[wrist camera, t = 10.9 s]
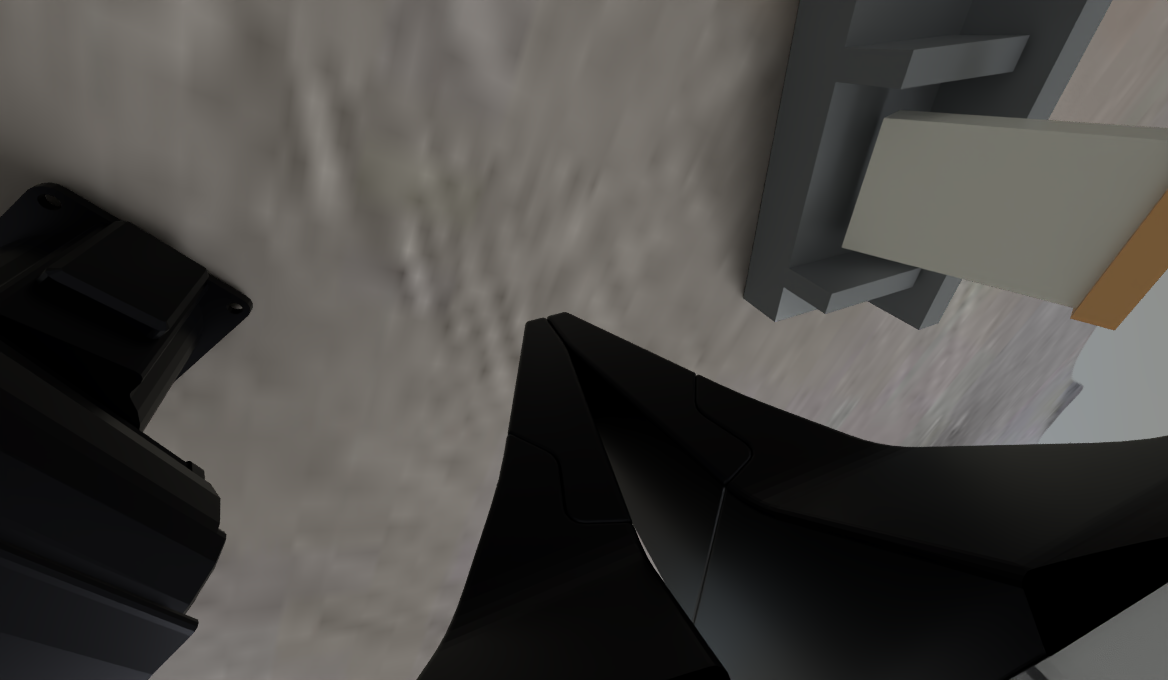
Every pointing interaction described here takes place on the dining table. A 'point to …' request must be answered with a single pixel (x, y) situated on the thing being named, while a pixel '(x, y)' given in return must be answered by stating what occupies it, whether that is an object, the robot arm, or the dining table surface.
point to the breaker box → (854, 117)
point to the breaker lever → (1021, 206)
